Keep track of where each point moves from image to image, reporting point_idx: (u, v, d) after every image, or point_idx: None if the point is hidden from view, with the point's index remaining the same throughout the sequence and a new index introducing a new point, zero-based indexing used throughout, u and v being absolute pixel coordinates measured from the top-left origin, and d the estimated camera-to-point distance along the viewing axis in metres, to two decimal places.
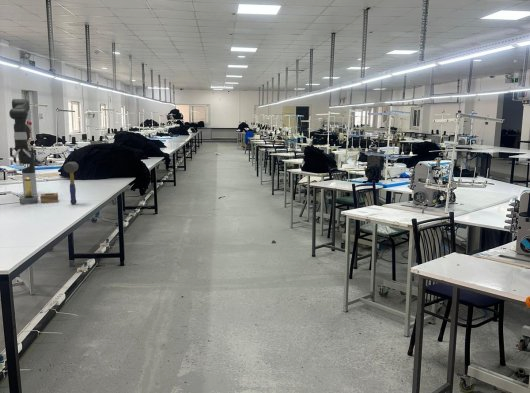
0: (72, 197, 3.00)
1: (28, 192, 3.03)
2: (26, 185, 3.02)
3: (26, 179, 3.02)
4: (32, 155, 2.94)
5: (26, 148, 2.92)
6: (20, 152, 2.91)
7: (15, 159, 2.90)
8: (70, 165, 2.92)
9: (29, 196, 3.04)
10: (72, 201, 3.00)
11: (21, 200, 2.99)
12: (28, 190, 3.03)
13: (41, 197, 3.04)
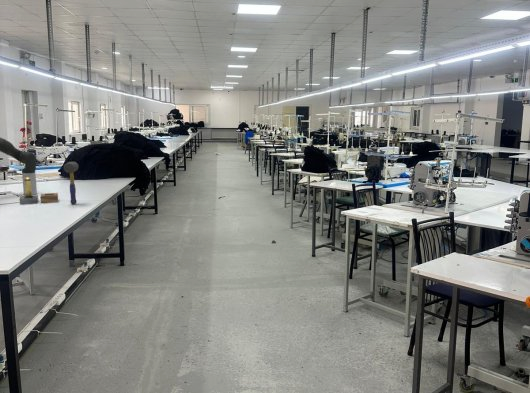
0: (72, 197, 3.00)
1: (28, 192, 3.03)
2: (26, 185, 3.02)
3: (26, 179, 3.02)
4: None
5: None
6: None
7: None
8: (70, 165, 2.92)
9: (29, 196, 3.04)
10: (72, 201, 3.00)
11: (21, 200, 2.99)
12: (28, 190, 3.03)
13: (41, 197, 3.04)
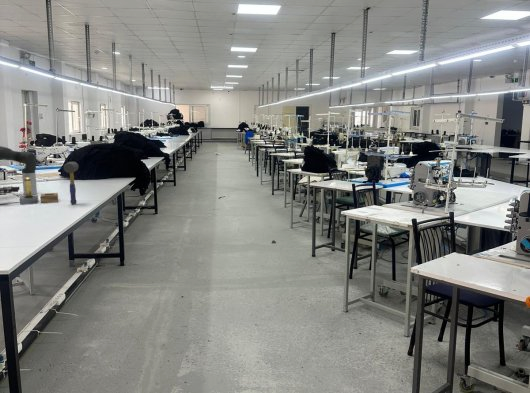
0: (72, 197, 3.00)
1: (28, 192, 3.03)
2: (26, 185, 3.02)
3: (26, 179, 3.02)
4: (9, 192, 2.95)
5: None
6: None
7: None
8: (70, 165, 2.92)
9: (29, 196, 3.04)
10: (72, 201, 3.00)
11: (21, 200, 2.99)
12: (28, 190, 3.03)
13: (41, 197, 3.04)
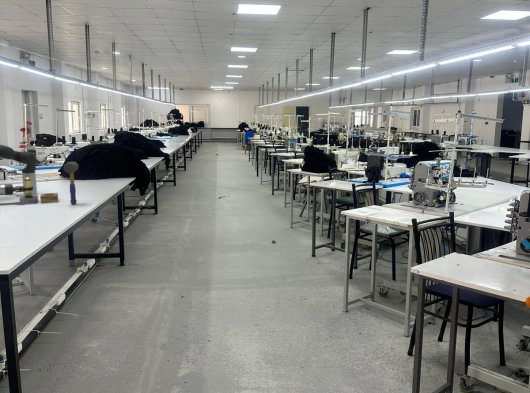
0: (72, 197, 3.00)
1: (28, 192, 3.03)
2: (26, 185, 3.02)
3: (26, 179, 3.02)
4: (24, 191, 3.00)
5: (15, 191, 2.99)
6: None
7: None
8: (70, 165, 2.92)
9: (29, 196, 3.04)
10: (72, 201, 3.00)
11: (21, 200, 2.99)
12: None
13: (41, 197, 3.04)
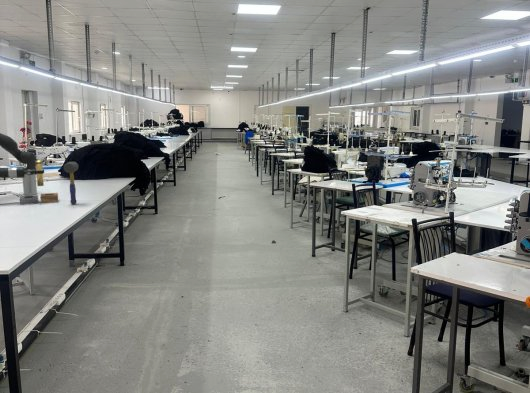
0: (72, 197, 3.00)
1: (39, 175, 3.04)
2: (37, 168, 3.04)
3: (37, 162, 3.03)
4: None
5: (26, 174, 3.00)
6: None
7: None
8: (70, 165, 2.92)
9: (40, 179, 3.05)
10: (72, 201, 3.00)
11: (21, 200, 2.99)
12: None
13: (41, 197, 3.04)
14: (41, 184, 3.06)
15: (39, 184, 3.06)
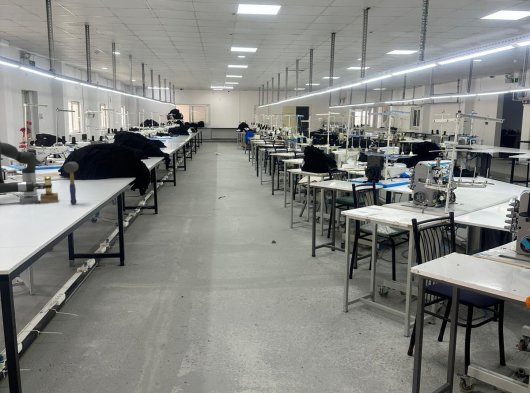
0: (72, 197, 3.00)
1: (48, 191, 3.09)
2: (46, 184, 3.08)
3: (46, 178, 3.07)
4: (43, 188, 3.03)
5: None
6: None
7: None
8: (70, 165, 2.92)
9: None
10: (72, 201, 3.00)
11: (21, 200, 2.99)
12: (48, 189, 3.09)
13: (41, 197, 3.04)
14: None
15: None
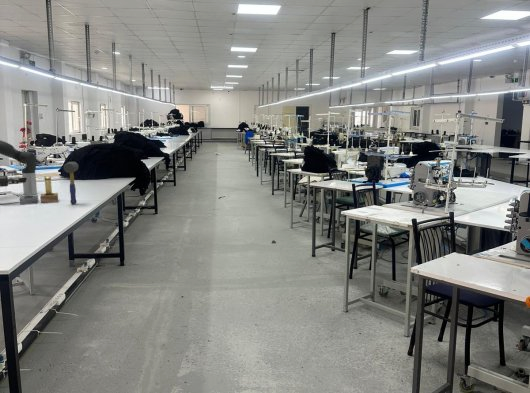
0: (72, 197, 3.00)
1: (48, 191, 3.09)
2: (46, 184, 3.08)
3: (46, 178, 3.07)
4: (17, 183, 2.97)
5: None
6: None
7: None
8: (70, 165, 2.92)
9: None
10: (72, 201, 3.00)
11: (21, 200, 2.99)
12: (48, 189, 3.09)
13: (41, 197, 3.04)
14: None
15: None
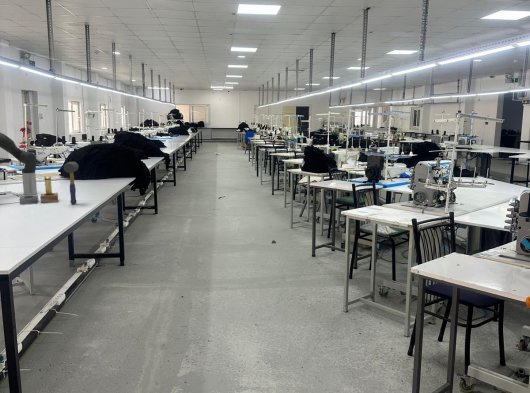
0: (72, 197, 3.00)
1: (48, 191, 3.09)
2: (46, 184, 3.08)
3: (46, 178, 3.07)
4: (1, 163, 2.92)
5: None
6: None
7: None
8: (70, 165, 2.92)
9: None
10: (72, 201, 3.00)
11: (21, 200, 2.99)
12: (48, 189, 3.09)
13: (41, 197, 3.04)
14: None
15: None
